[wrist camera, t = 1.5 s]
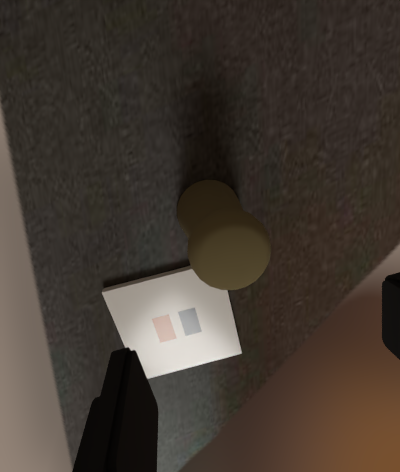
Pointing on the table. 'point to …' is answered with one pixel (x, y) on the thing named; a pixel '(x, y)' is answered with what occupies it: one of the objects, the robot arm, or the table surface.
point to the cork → (222, 236)
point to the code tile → (173, 321)
